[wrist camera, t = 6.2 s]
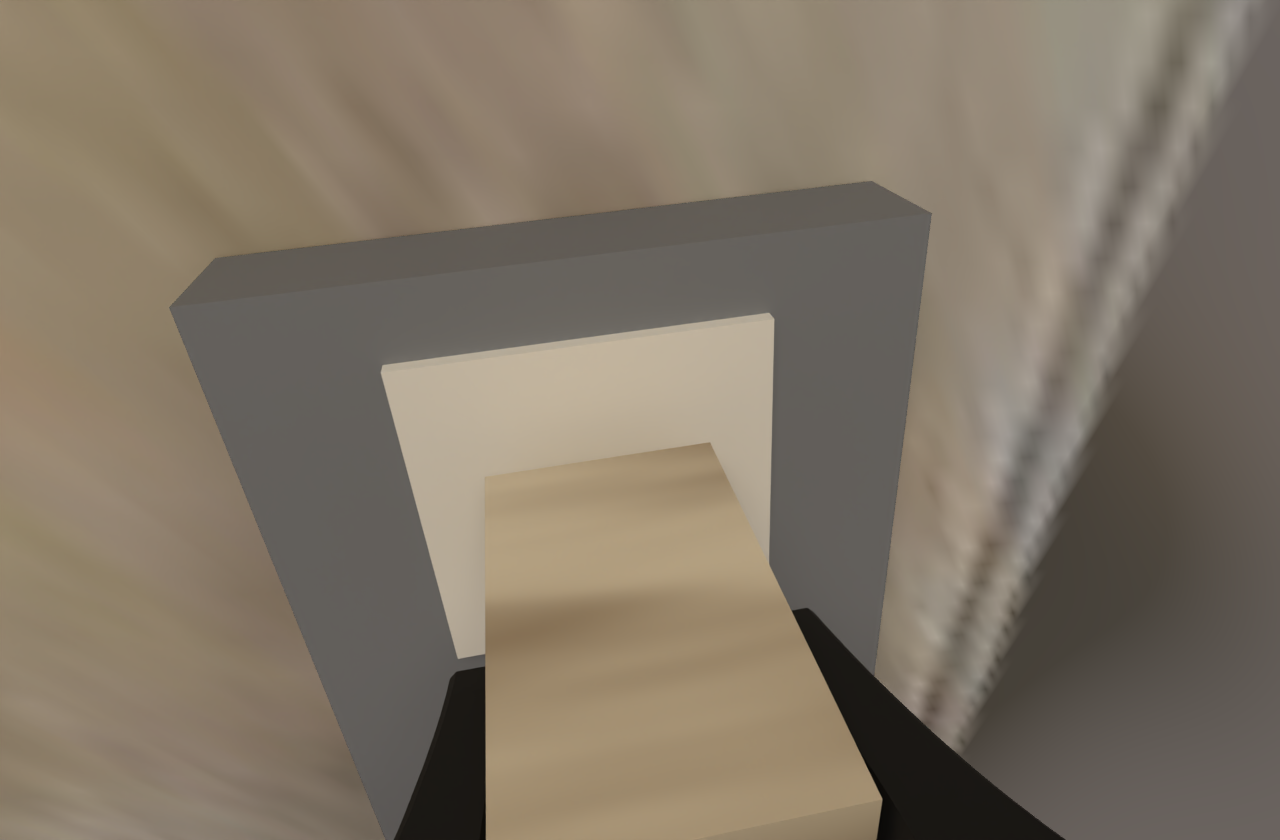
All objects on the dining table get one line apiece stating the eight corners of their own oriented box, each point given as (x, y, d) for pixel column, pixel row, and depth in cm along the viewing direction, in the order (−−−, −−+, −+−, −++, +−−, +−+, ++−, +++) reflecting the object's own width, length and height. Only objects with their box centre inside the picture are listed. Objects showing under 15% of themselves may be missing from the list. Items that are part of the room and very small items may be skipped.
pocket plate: (818, 815, 27) (851, 896, 25) (445, 895, 26) (441, 990, 23) (872, 181, 16) (940, 217, 14) (215, 258, 15) (162, 314, 12)
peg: (714, 606, 16) (854, 989, 10) (518, 642, 15) (541, 1065, 9) (709, 441, 14) (882, 798, 8) (484, 476, 13) (486, 884, 7)
